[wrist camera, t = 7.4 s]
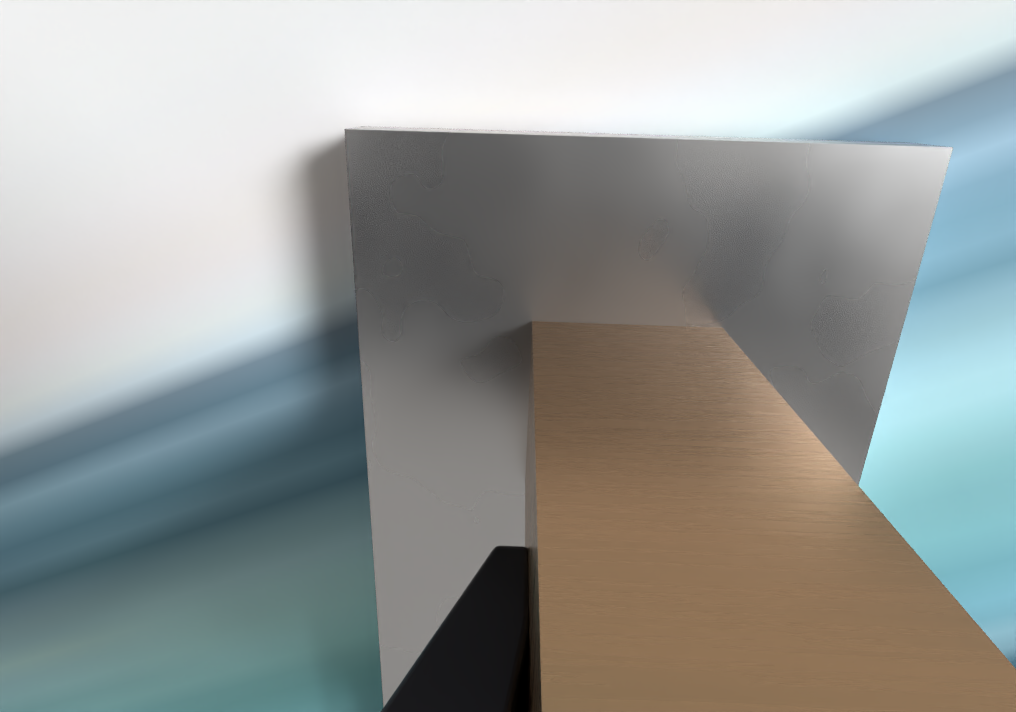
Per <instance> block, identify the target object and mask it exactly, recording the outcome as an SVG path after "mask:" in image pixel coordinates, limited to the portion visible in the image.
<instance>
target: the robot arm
mask: <svg viewBox="0 0 1016 712" xmlns="http://www.w3.org/2000/svg"><path fill="white" fill-rule="evenodd" d="M528 651H529V577H528V548H527V547H524V546H501V545H500V546H496V547H495V548H494V549H493V550H492V551H491V553H490V554H489V556H488V557H487V559H486V560H485V562H484V563H483V564H482V566H481V567H480V569H479V570H478V572H477V573H476V575H475V576H474V577H473V579H472V580H471V582H470V583H469V585H468V586H467V588H466V589H465V590H464V592H463V593H462V595H461V596H460V598H459V599H458V601H457V602H456V603H455V605H454V606H453V608H452V609H451V611H450V612H449V614H448V615H447V616H446V618H445V619H444V621H443V622H442V624H441V625H440V627H439V628H438V630H437V631H436V632H435V634H434V635H433V637H432V638H431V640H430V641H429V643H428V644H427V645H426V647H425V648H424V650H423V651H422V653H421V654H420V656H419V657H418V658H417V660H416V661H415V663H414V664H413V666H412V667H411V669H410V670H409V671H408V673H407V674H406V676H405V677H404V679H403V680H402V682H401V683H400V684H399V686H398V687H397V689H396V690H395V692H394V693H393V695H392V696H391V697H390V699H389V700H388V702H387V703H386V705H385V706H384V708H383V709H382V710H381V712H525V708H526V689H527V670H528Z"/></svg>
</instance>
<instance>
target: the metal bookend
mask: <svg viewBox="0 0 1016 712" xmlns="http://www.w3.org/2000/svg"><path fill="white" fill-rule="evenodd" d="M345 142H346V157H347V172H348V186H349V201H350V216H351V231H352V246H353V261H354V276H355V291H356V306H357V321H358V335H359V350H360V365H361V380H362V395H363V410H364V425H365V440H366V455H367V469H368V484H369V499H370V514H371V529H372V544H373V559H374V574H375V589H376V604H377V618H378V633H379V648H380V663H381V678H382V693H383V708H384V706H385V705H386V703H387V702H388V700H389V699H390V697H391V696H392V695H393V693H394V692H395V690H396V689H397V687H398V686H399V684H400V683H401V682H402V680H403V679H404V677H405V676H406V674H407V673H408V671H409V670H410V669H411V667H412V666H413V664H414V663H415V661H416V660H417V658H418V657H419V656H420V654H421V653H422V651H423V650H424V648H425V647H426V645H427V644H428V643H429V641H430V640H431V638H432V637H433V635H434V634H435V632H436V631H437V630H438V628H439V627H440V625H441V624H442V622H443V621H444V619H445V618H446V616H447V615H448V614H449V612H450V611H451V609H452V608H453V606H454V605H455V603H456V602H457V601H458V599H459V598H460V596H461V595H462V593H463V592H464V590H465V589H466V588H467V586H468V585H469V583H470V582H471V580H472V579H473V577H474V576H475V575H476V573H477V572H478V570H479V569H480V567H481V566H482V564H483V563H484V562H485V560H486V559H487V557H488V556H489V554H490V553H491V551H492V550H493V549H494V548H495V547H496V546H500V545H501V546H524V547H527V548H528V577H529V651H528V670H527V689H526V708H525V712H1016V669H1015V668H1014V666H1013V665H1012V664H1011V663H1010V662H1009V661H1008V659H1007V658H1006V657H1005V656H1004V655H1003V654H1002V652H1001V651H1000V650H999V649H998V648H997V647H996V645H995V644H994V643H993V642H992V641H991V640H990V638H989V637H988V636H987V635H986V634H985V633H984V631H983V630H982V629H981V628H980V627H979V626H978V624H977V623H976V622H975V621H974V620H973V619H972V618H971V616H970V615H969V614H968V613H967V612H966V611H965V609H964V608H963V607H962V606H961V605H960V604H959V602H958V601H957V600H956V599H955V598H954V597H953V595H952V594H951V593H950V592H949V591H948V590H947V588H946V587H945V586H944V585H943V584H942V583H941V581H940V580H939V579H938V578H937V577H936V576H935V574H934V573H933V572H932V571H931V570H930V569H929V567H928V566H927V565H926V564H925V563H924V562H923V560H922V559H921V558H920V557H919V556H918V555H917V554H916V552H915V551H914V550H913V549H912V548H911V547H910V545H909V544H908V543H907V542H906V541H905V540H904V538H903V537H902V536H901V535H900V534H899V533H898V531H897V530H896V529H895V528H894V527H893V526H892V524H891V523H890V522H889V521H888V520H887V519H886V517H885V516H884V515H883V514H882V513H881V512H880V510H879V509H878V508H877V507H876V506H875V505H874V503H873V502H872V501H871V500H870V499H869V498H868V496H867V495H866V494H865V493H864V492H863V491H862V489H861V488H860V487H859V486H858V485H859V481H860V478H861V474H862V471H863V467H864V463H865V460H866V456H867V453H868V449H869V446H870V442H871V438H872V435H873V431H874V428H875V424H876V421H877V417H878V414H879V410H880V406H881V403H882V399H883V396H884V392H885V389H886V385H887V381H888V378H889V374H890V371H891V367H892V364H893V360H894V357H895V353H896V349H897V346H898V342H899V339H900V335H901V332H902V328H903V324H904V321H905V317H906V314H907V310H908V307H909V303H910V300H911V296H912V292H913V289H914V285H915V282H916V278H917V275H918V271H919V267H920V264H921V260H922V257H923V253H924V250H925V246H926V243H927V239H928V235H929V232H930V228H931V225H932V221H933V218H934V214H935V210H936V207H937V203H938V200H939V196H940V193H941V189H942V186H943V182H944V178H945V175H946V171H947V168H948V164H949V161H950V157H951V153H952V150H953V147H945V146H936V145H927V144H918V143H906V142H873V141H840V140H806V139H773V138H739V137H706V136H673V135H639V134H606V133H573V132H539V131H506V130H473V129H439V128H406V127H372V126H361V127H355V128H349V129H345Z"/></svg>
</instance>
